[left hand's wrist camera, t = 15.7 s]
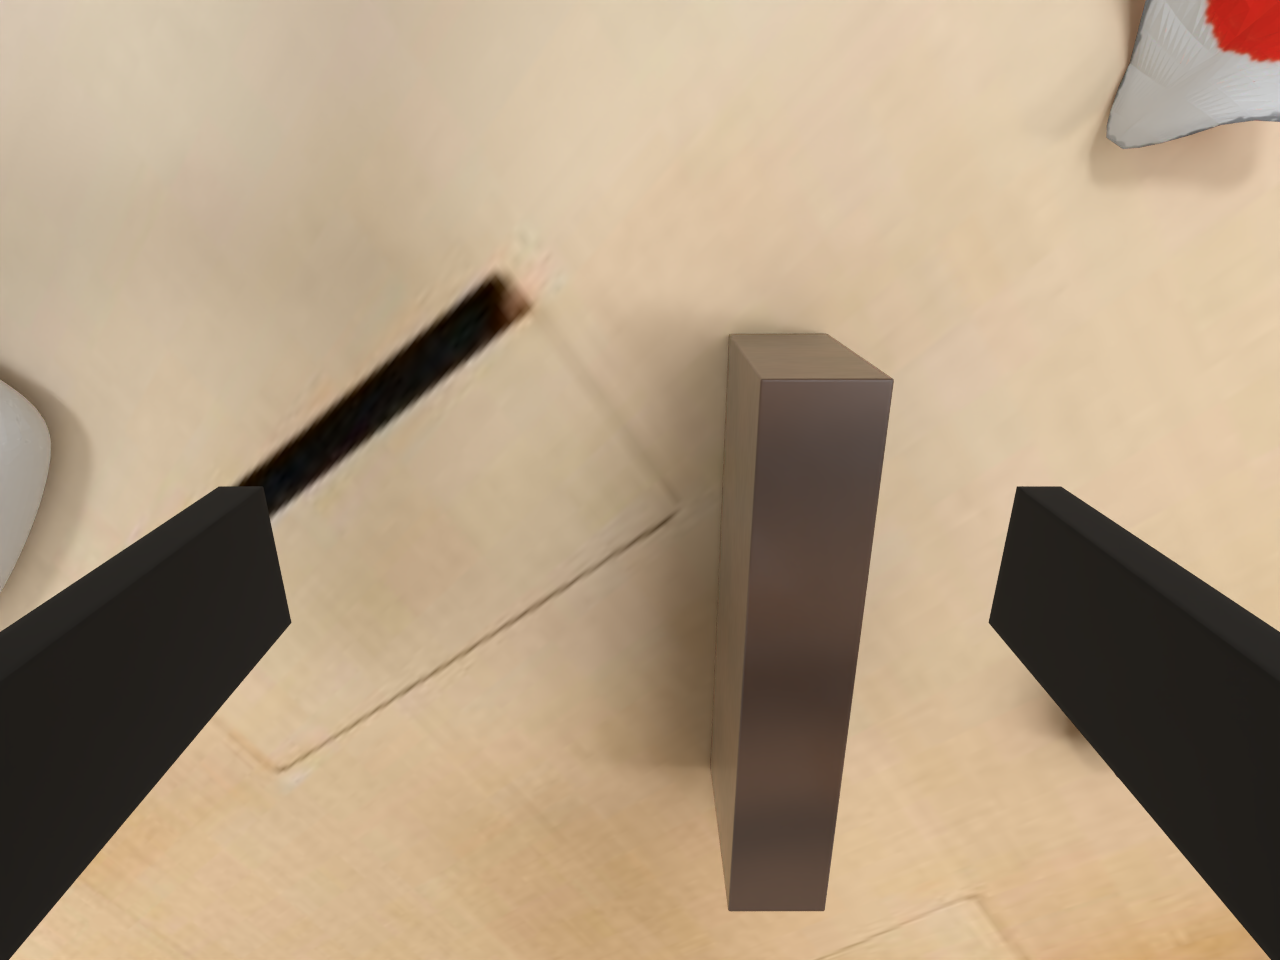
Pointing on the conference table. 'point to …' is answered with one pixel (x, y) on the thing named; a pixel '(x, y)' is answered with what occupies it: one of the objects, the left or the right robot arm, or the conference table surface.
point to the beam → (790, 605)
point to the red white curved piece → (1198, 70)
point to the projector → (19, 473)
